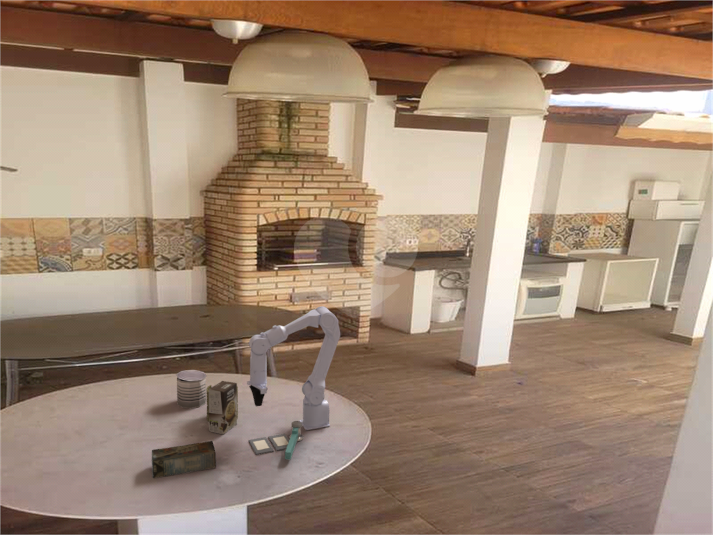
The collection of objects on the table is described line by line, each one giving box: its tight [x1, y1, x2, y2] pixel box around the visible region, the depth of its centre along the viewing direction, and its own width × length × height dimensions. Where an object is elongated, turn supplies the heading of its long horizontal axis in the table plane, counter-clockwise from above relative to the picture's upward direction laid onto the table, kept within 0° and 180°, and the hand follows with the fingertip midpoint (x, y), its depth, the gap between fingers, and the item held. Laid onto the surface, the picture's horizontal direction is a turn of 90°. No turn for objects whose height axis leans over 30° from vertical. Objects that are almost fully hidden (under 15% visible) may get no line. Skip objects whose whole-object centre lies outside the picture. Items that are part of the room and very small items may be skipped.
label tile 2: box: [267, 433, 290, 452], centre depth 192 cm, size 6×10×1 cm, turn 25°
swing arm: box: [284, 420, 303, 461], centre depth 187 cm, size 19×4×4 cm, turn 177°
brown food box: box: [206, 384, 239, 423], centre depth 208 cm, size 11×12×11 cm
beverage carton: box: [151, 440, 217, 479], centre depth 174 cm, size 8×19×7 cm, turn 111°
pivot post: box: [288, 427, 305, 443], centre depth 195 cm, size 5×5×4 cm
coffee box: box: [208, 380, 238, 435], centre depth 200 cm, size 9×6×16 cm
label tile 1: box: [248, 436, 275, 456], centre depth 189 cm, size 6×10×1 cm, turn 25°
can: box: [175, 369, 208, 409], centre depth 220 cm, size 11×11×12 cm
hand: (258, 405), depth 198 cm, fingers closed
